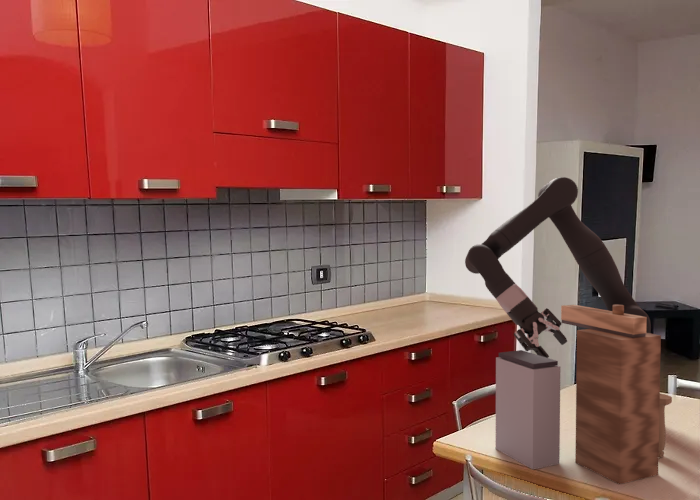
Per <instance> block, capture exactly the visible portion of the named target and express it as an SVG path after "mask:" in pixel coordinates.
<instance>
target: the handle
mask: <svg viewBox="0 0 700 500" xmlns="http://www.w3.org/2000/svg"><path fill="white" fill-rule="evenodd" d="M672 402H673V397H672V396H671V395H668V394H664V393H660V408H659V458H661V459H662V457H664V454H665V451H664V450H665V446H666V421H665V420H666V419H665V417H666V416H665V409H666V406H667V405H671V403H672Z"/></svg>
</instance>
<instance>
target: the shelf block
mask: <svg viewBox="0 0 700 500" xmlns="http://www.w3.org/2000/svg"><path fill="white" fill-rule="evenodd" d="M661 340H662V335H659V334H655V333H651V334H650V333H646V337H637V338H630V337H625V336H620V335H616V334H611V333H606V332H602V331H597V330H592V329H588V328H583V329H578V330H576V373H575V374H576V377H575V379H576V382H575V384H576V385H575V386H576V387H575V391H576V392H575V398H576V399H575V454H574V455H575V459H574V460H575V462H574V463H576V464H578V465H579V466H582V467H584V468H586V469H587V470H589V471H592V472H594V473H596V474H597V475H600V476H602V477H604V478H605V479H608V480H610V481H612V482H613V483H616V484H618V485H622V484H625V483H630V482H635V481H638V480H642V479H646V478H651V477H654V476H658V475H659V408H660V394H661V393H660V392H661V352H662V350H661V349H662V347H661V345H662V344H661V343H662V342H661Z"/></svg>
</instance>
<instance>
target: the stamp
mask: <svg viewBox="0 0 700 500" xmlns="http://www.w3.org/2000/svg"><path fill="white" fill-rule="evenodd" d="M560 321H561V323H562V324H565V325H569V326H575V327H579V328H582V329H592V330H597V331H602V332H606V333H611V334H616V335H620V336H625V337H630V338H637V337H646V321H647V317H643V316H637V315H631V314H625V313H624V305H613V311H608V310H607V309H600V308H597V307H595V308H594V307H589V306H583V305H577V304H566V305H565V304H564V305H563V304H562V305H561V311H560Z"/></svg>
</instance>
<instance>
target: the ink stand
mask: <svg viewBox="0 0 700 500" xmlns="http://www.w3.org/2000/svg"><path fill="white" fill-rule="evenodd" d="M558 362H559V360H556V359H552V358H550V357H548V358H546V357H543V356H539V355H537V354H536V353H533V352H530V351H525V350H524V349H523V350H511V351H503V352H498V357H497V356H496V357H495V450H497V451H499V452H500V453H502V454H504V455H506V456H508V457H510V458H511V459H513V460H515V461H517V462H519V463H520V464H522V465H524V466H526V467H528V468H529V469H531V470H537V469H541V468H546V467H551V466H555V465H559V464H560V457H561V456H560V455H561V454H560V450H561V447H560V446H561V444H560V443H561V442H560V441H561V439H560V438H561V427H560V426H561V366H560V365H558V364H559V363H558Z"/></svg>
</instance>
